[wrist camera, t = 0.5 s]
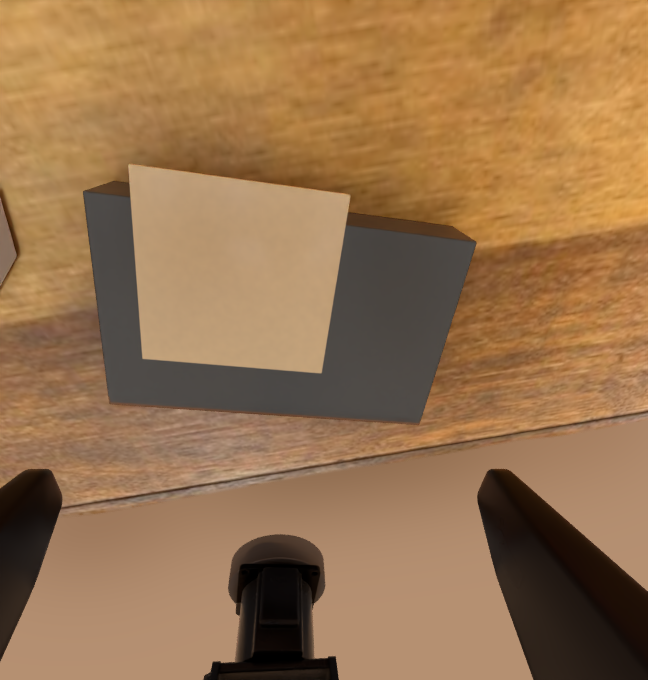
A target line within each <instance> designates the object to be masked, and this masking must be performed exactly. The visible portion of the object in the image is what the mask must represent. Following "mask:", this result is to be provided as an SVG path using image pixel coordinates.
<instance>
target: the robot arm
mask: <svg viewBox="0 0 648 680" xmlns="http://www.w3.org/2000/svg"><path fill="white" fill-rule="evenodd" d="M477 498H478V505H479V509H480V513H481V517H482V521H483V525H484V529H485V533H486V538H487V542H488V546H489V549H490V553H491V558H492V561H493V565H494V568H495V572H496V576H497V579H498V582H499V585H500V588H501V590H502V593H503V596H504V599H505V602H506V604H507V607H508V610H509V613H510V616H511V618H512V621H513V624H514V627H515V630H516V632H517V635H518V638H519V641H520V643H521V646H522V649H523V652H524V655H525V657H526V660H527V663H528V666H529V669H530V671H531V674H532V677H533V680H648V591H646V590H645V589H644V588H643V587H642V586H641V585H640V584H639V583H637V582H636V581H635V580H634V579H633V578H632V577H631V576H629V575H628V574H627V573H626V572H625V571H624V570H622V569H621V568H620V567H619V566H618V565H617V564H616V563H615V562H613V561H612V560H611V559H610V558H609V557H608V556H607V555H606V554H604V553H603V552H602V551H601V550H600V549H599V548H597V547H596V546H595V545H594V544H593V543H592V542H591V541H590V540H588V539H587V538H586V537H585V536H584V535H583V534H582V533H581V532H579V531H578V530H577V529H576V528H575V527H573V525H571V524H570V523H569V522H568V521H567V520H566V519H564V518H563V517H562V516H561V515H560V514H559V513H558V512H556V511H555V510H554V509H553V508H552V507H551V506H550V505H549V504H548V503H546V502H545V501H544V500H543V499H542V498H541V497H540V496H538V495H537V494H536V493H535V492H534V491H533V490H532V489H530V488H529V487H528V486H527V485H526V484H525V483H524V482H523V481H521V480H520V479H519V478H518V477H517V476H516V475H515V474H513V473H512V472H511V471H509V470H507V469H491V470H489V471H488V472H487V474H486V476H485V478H484V480H483V482H482V484H481V487H480V489H479V491H478V496H477ZM61 506H62V494H61V491H60V489H59V486H58V484H57V482H56V479H55V477H54V475H53V473H52V471H50V470H49V469H28V470H25V471H23V472H22V473H20V474H19V475H18V476H16V477H15V478H14V479H12V480H11V481H10V482H8V483H7V484H6V485H4V486H3V487H2V488H0V661H1V659H2V657H3V654H4V652H5V650H6V648H7V646H8V643H9V641H10V639H11V637H12V634H13V632H14V630H15V628H16V626H17V623H18V621H19V619H20V617H21V615H22V612H23V610H24V608H25V606H26V604H27V601H28V599H29V597H30V594H31V592H32V590H33V588H34V585H35V582H36V580H37V577H38V574H39V571H40V568H41V565H42V562H43V559H44V556H45V554H46V550H47V548H48V544H49V541H50V539H51V536H52V533H53V530H54V526H55V524H56V521H57V518H58V515H59V512H60V509H61ZM319 578H320V567H319V566H317V565H289V564H242V565H240V567H239V574H238V588H237V602H236V614H237V615H239V616H240V618H239V629H238V637H237V648H236V657H235V662H229V663H221V662H220V661H216V662H213V663H212V668H211V672H210V673H208V674H206V675H205V676H204V680H339V679H338V671H337V663H336V657H335V656H329V657H328V658H319V659H314V638H313V616H312V610H313V605H314V601H315V596H316V592H317V587H318V583H319Z"/></svg>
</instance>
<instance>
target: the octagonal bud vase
mask: <svg viewBox="0 0 648 680" xmlns="http://www.w3.org/2000/svg"><path fill="white" fill-rule="evenodd" d="M16 257H17V255H16V251H15V248H14V244H13V240H12V237H11V233H10V230H9V226H8V223H7V219H6V216H5V212H4V209H3V205H2V202H1V198H0V286H1V284H2V282H3V280H4V278H5V277H6V275H7V273H8V271H9V269H10V268H11V266H12V264H13V262H14V260H15V259H16Z"/></svg>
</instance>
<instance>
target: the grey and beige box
mask: <svg viewBox="0 0 648 680" xmlns="http://www.w3.org/2000/svg"><path fill="white" fill-rule="evenodd" d="M128 171H129V183H124V182H117V181H112V182H109V183H106V184H103V185H100V186H97V187H94V188H91V189H88V190H85V191H83V196H84V204H85V212H86V220H87V228H88V236H89V244H90V252H91V260H92V268H93V276H94V284H95V292H96V300H97V308H98V316H99V324H100V332H101V340H102V348H103V356H104V364H105V372H106V380H107V388H108V397H109V404H114V405H129V406H144V407H159V408H174V409H189V410H204V411H218V412H233V413H248V414H263V415H278V416H293V417H307V418H322V419H337V420H352V421H367V422H382V423H397V424H411V425H419V424H420V421H421V418H422V415H423V411H424V408H425V405H426V402H427V399H428V396H429V392H430V389H431V386H432V383H433V380H434V377H435V373H436V370H437V367H438V364H439V361H440V357H441V354H442V351H443V348H444V345H445V342H446V338H447V335H448V332H449V329H450V326H451V323H452V319H453V316H454V313H455V310H456V307H457V304H458V300H459V297H460V294H461V291H462V288H463V284H464V281H465V278H466V275H467V272H468V269H469V265H470V262H471V259H472V256H473V253H474V250H475V246H476V241H474V240H473V239H471V238H470V237H468V236H467V235H465V234H463V233H462V232H460V231H459V230H457V229H456V228H454V227H453V226H446V225H439V224H431V223H424V222H416V221H409V220H401V219H394V218H386V217H379V216H371V215H364V214H356V213H349V212H348V208H349V202H350V196H351V195H350V194H345V193H338V192H331V191H323V190H316V189H309V188H302V187H295V186H287V185H280V184H273V183H266V182H259V181H252V180H244V179H237V178H230V177H223V176H216V175H209V174H201V173H194V172H187V171H180V170H173V169H166V168H158V167H151V166H144V165H137V164H128Z"/></svg>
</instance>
